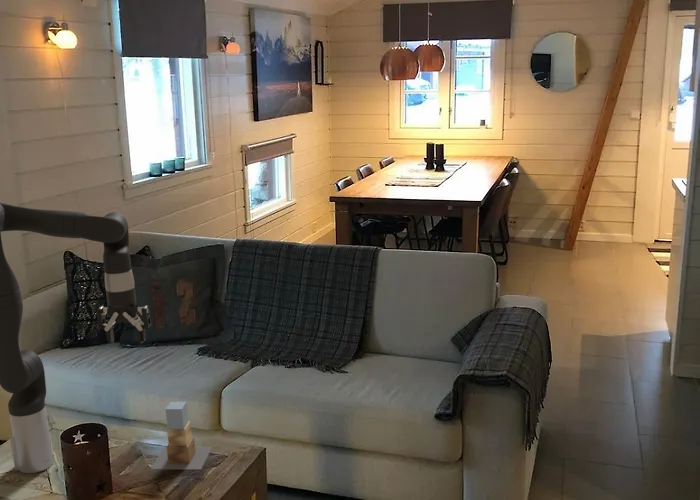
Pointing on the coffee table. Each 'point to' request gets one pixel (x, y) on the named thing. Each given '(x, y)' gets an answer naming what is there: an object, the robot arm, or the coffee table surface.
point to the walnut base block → (181, 452)
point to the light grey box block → (177, 415)
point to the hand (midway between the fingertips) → (126, 342)
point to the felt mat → (195, 463)
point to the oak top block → (179, 436)
